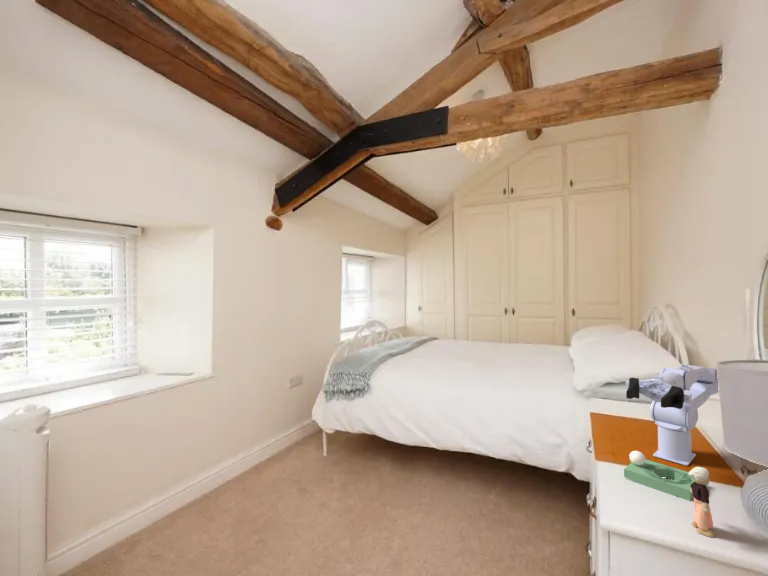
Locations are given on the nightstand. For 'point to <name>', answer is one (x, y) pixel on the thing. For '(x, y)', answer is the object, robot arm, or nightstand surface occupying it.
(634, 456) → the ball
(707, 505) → the grandmother figurine
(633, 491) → the nightstand surface
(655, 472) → the green
